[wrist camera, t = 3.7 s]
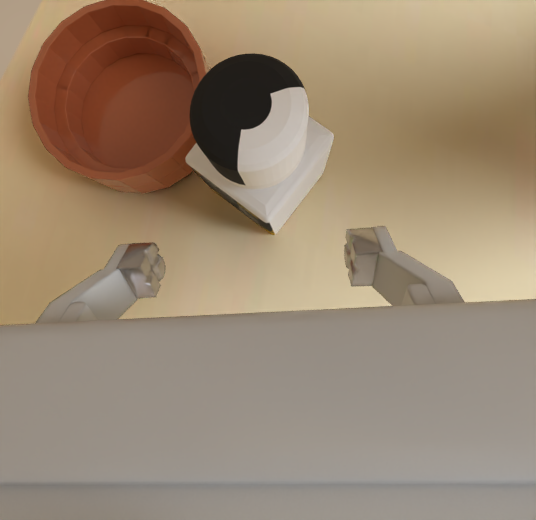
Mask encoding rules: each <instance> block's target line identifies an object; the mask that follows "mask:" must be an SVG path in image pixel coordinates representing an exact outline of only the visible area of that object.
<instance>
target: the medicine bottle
mask: <svg viewBox="0 0 536 520" xmlns="http://www.w3.org/2000/svg"><path fill="white" fill-rule="evenodd" d="M308 115H309V105H308V98H307V94H306V91H305V88H304V86H303V84H302V82H301V80H300V79H299V78H298V76H297V75H296V74H295V72H294V71H293V70H292V69H291V68H289V67H288V66H287V65H286V64H284V63H283V62H281V61H279V60H278V59H275V58H273V57H270V56H266V55H262V54H242V55H237V56H234V57H230V58H228V59H226V60H224V61H222V62H220V63H219V64H217V65H216V66H214V67H213V68H212V69H211V70H209V71H208V72H207V74H206V75H205V76H204V77H203V78H202V79H201V81H200V82H199V84H198V86H197V88H196V89H195V91H194V94H193V97H192V100H191V105H190V114H189V117H190V126H191V131H192V134H193V136H194V139H195V141H196V144H195V145H194V146H193V148H192V149H191V150H190V152H189V153H188V154H187V156H186V158H185V159H186V163H187V164H188V165H189V166H190V167H191V168H192V169H193V170H194V171H195V172H196V173H197V174H198V175H199V176H200V177H201V178H202V179H203V180H204V181H205V182H206V183H207V184H208V185H209V186H210V187H211V188H212V190H214V191H215V192H216V193H217V194H219V195H220V196H221V197H223V198H224V199H225V200H227V201H228V202H229V203H231V204H232V205H233V206H235V207H236V208H237V209H239V210H240V211H241V212H242V213H244V214H245V215H246V216H248V217H249V218H250V219H252V220H253V221H254V222H256V223H257V224H258V225H260V226H261V227H262V228H264V229H265V230H266V231H267V232H269V233H270V234H272V235H276V234H277V233H278V231H279V230H280V229H281V228H282V226H283V225H284V224H285V222H286V221H287V220H288V218H289V217H290V216H291V215H292V213H293V212H294V211H295V209H296V208H297V207H298V205H299V204H300V203H301V201H302V200H303V199H304V198H305V196H306V195H307V194H308V192H309V191H310V190H311V188H312V187H313V186H314V185H315V183H316V182H317V181H318V179H319V178H320V177H321V175H322V174H323V172H324V169H325V166H326V163H327V159H328V156H329V153H330V150H331V146H332V143H333V140H334V135H333V133H332V132H331V131H329V130H328V129H327V128H325V127H324V126H322V125H321V124H319V123H318V122H317V121H315V120H314V119H312V118H311V117H310V116H308Z"/></svg>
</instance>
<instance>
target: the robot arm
mask: <svg viewBox="0 0 536 520" xmlns="http://www.w3.org/2000/svg"><path fill="white" fill-rule="evenodd" d="M346 241H347V244H346V245H345V249H344V258H345V264H346V267H347V268H348V269H349V272H348V276H349V280H350V283H351V286H372V287H373V288H374V289H375V290H376V291H377V292H378V293H380V294H381V295H382V296H383V297H384V298H385V299H386V300H387V301H388V302H389V303H390V304H391V305H392V306H383V307H363V308H344V309H323V310H302V311H281V312H260V313H240V314H220V315H200V316H180V317H159V318H138V319H118V318H119V317H120V316H121V315H122V314H123V313H124V312H125V311H126V310H127V309H128V308H129V307H130V306H131V305H132V304H133V303H134V302H135V301H136V300H137V299H138V298H150V297H156V296H157V294H158V291H159V288H160V286H161V285H160V283H159V281H160V280H162V279H163V278H164V275H165V268H166V266H165V262H164V259H163V257H161V256H160V255H159V254H158V251H159V248H158V247H157V245H156V244H155V243H132V244H121V245H118V246H117V248H116V250H115V251H114V253H113V255H112V256H111V258H110V260H109V261H108V263H107V264H106V266H105V268H104V269H103V270H99V271H97V272H96V273H94V274H93V275H91V276H90V277H88V278H87V279H85V280H84V281H82V282H81V283H79V284H78V285H76V286H75V287H73V288H72V289H70V290H68V291H67V292H65V293H64V294H62V295H61V296H59V297H58V298H56V299H55V300H53V301H52V302H50V303H49V305H48V306H47V307H46V309H45V310H44V312H43V313H42V314H41V316H40V317H39V319H38V320H37V321H36V323H35V324H14V325H0V520H536V299H526V300H506V301H486V302H464V300H463V299H462V297H461V295H460V294H459V292H458V290H457V289H456V287H455V285H454V284H453V282H452V281H451V280H449V279H447V278H446V277H444V276H442V275H441V274H439V273H437V272H436V271H434V270H432V269H431V268H429V267H427V266H426V265H424V264H422V263H421V262H419V261H417V260H415V259H414V258H412V257H410V256H409V255H407V254H405V253H404V252H402V251H397V249H396V247H395V245H394V243H393V241H392V239H391V237H390V235H389V232H388V230H387V228H386V227H385V226H377V227H371V228H357V229H347V231H346ZM117 319H118V320H117Z"/></svg>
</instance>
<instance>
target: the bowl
mask: <svg viewBox="0 0 536 520" xmlns="http://www.w3.org/2000/svg"><path fill="white" fill-rule="evenodd" d="M208 71H209V68H208V66H207V63H206V61H205V58H204V56H203V54H202V51H201V49H200V47H199V46H198V44H197V42H196V41H195V39H194V37H193V36H192V34H191V32H190V31H189V29H188V27H187V26H186V25H185V24H184V23H182V22H181V21H180V20H179V19H178V18H176V17H175V16H174V15H173V14H172V13H170V12H169V11H168V10H167V9H165V8H163V7H161V6H158V5H155V4H152V3H150V2H147V1H144V0H104V1H101V2H97V3H94V4H91V5H87V6H85V7H83V8H81V9H80V10H78V11H77V12H75V13H74V14H72V15H71V16H69V17H68V18H66V19H65V20H63V21H62V22H61V23H60V24H59V25H58V26H57V28H56V29H55V30H54V31H53V32H52V33H51V35H50V36H49V37H48V38H47V39H46V41H45V42H44V43H43V45H42V47H41V50H40V52H39V54H38V56H37V59H36V61H35V63H34V65H33V68H32V71H31V78H30V86H29V94H28V100H29V106H30V112H31V117H32V123H33V126H34V128H35V130H36V132H37V133H38V135H39V137H40V139H41V141H42V143H43V145H44V147H45V148H46V150H48V151H49V152H50V153H51V154H52V155H53V156H54V157H55V158H56V159H57V160H58V161H59V162H60V163H61V164H63V165H64V166H65V167H66V168H68V169H70V170H72V171H75V172H77V173H79V174H81V175H83V176H85V177H88V178H90V179H92V180H94V181H96V182H99V183H101V184H103V185H105V186H108V187H110V188H112V189H115V190H117V191H120V192H132V193H147V192H151V191H156V190H160V189H164V188H167V187H169V186H171V185H173V184H174V183H176V182H178V181H179V180H181V179H183V178H184V177H186V176H187V175H189V174H190V173H191V172H192V171H193V169H192V168H191V167H190V166H189V165H188V164H187V163H186V159H185V158H186V156H187V154H188V153H189V152H190V150H191V149H192V148H193V146H194V145H195V144H196V141H195V139H194V136H193V134H192V131H191V126H190V117H189V114H190V105H191V100H192V97H193V94H194V91H195V89H196V88H197V86H198V84H199V82H200V81H201V79H202V78H203V77H204V76H205V75H206V74H207V72H208Z"/></svg>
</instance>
